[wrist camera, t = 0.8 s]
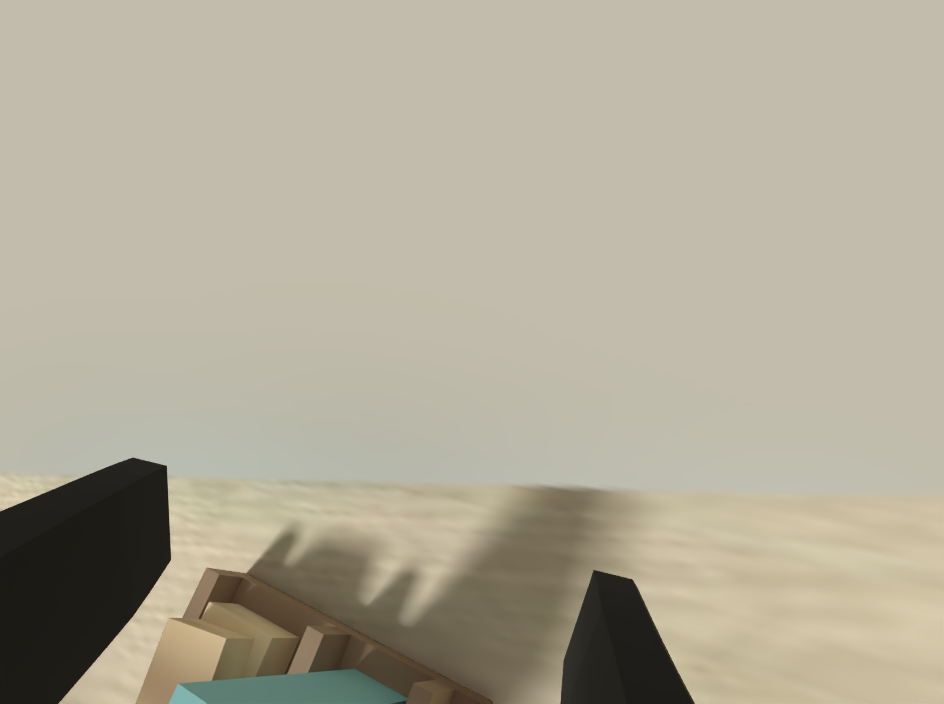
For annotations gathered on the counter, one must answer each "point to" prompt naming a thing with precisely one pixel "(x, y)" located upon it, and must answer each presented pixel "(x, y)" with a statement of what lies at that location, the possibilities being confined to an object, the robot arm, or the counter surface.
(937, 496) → the counter surface
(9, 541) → the robot arm
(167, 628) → the offcut top
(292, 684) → the teal block
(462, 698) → the rack
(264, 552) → the counter surface
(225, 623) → the offcut low
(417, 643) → the counter surface
